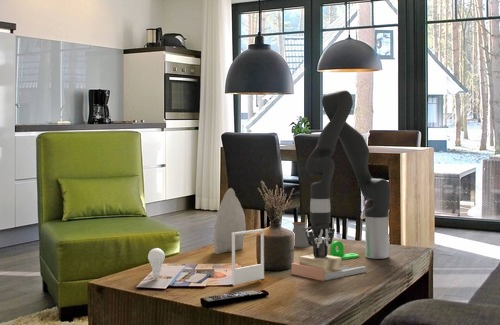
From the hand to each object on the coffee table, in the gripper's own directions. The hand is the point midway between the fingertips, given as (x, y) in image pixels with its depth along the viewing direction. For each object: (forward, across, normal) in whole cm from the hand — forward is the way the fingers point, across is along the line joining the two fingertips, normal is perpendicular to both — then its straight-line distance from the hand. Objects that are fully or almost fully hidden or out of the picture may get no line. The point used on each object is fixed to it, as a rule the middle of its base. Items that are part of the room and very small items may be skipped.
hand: (320, 256), depth 227 cm
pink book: (+7, -5, 0) cm, 8 cm away
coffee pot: (+7, -32, -39) cm, 51 cm away
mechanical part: (+7, -31, -14) cm, 35 cm away
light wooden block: (+6, 0, 0) cm, 6 cm away
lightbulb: (+7, +50, -35) cm, 61 cm away
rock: (+7, 0, -55) cm, 55 cm away
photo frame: (+7, +28, -9) cm, 30 cm away
